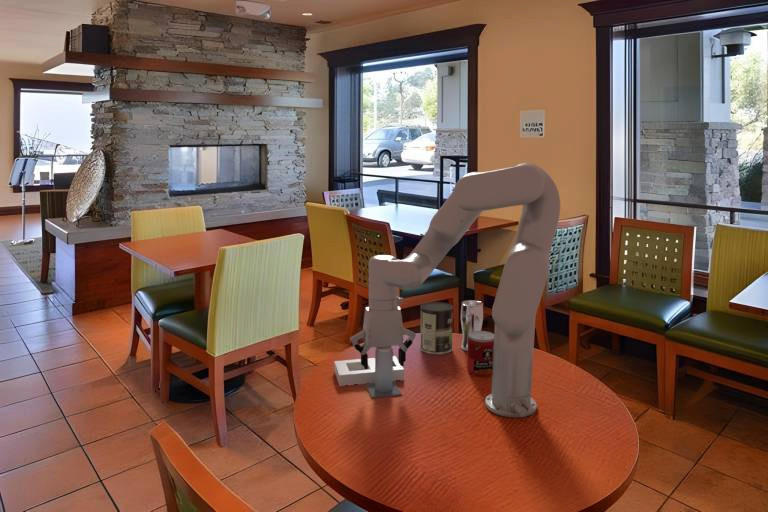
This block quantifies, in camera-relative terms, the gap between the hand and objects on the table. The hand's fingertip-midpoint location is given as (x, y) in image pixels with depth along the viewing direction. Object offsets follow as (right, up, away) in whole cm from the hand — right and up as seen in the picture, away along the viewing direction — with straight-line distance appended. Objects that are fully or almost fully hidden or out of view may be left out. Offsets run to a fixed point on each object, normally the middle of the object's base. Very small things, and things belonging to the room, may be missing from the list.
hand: (383, 365), depth 149 cm
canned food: (+28, -4, +14) cm, 31 cm away
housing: (-4, -5, +11) cm, 12 cm away
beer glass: (+28, -1, +32) cm, 42 cm away
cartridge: (0, -6, +1) cm, 7 cm away
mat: (0, -7, +1) cm, 7 cm away
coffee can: (+17, -1, +31) cm, 35 cm away
